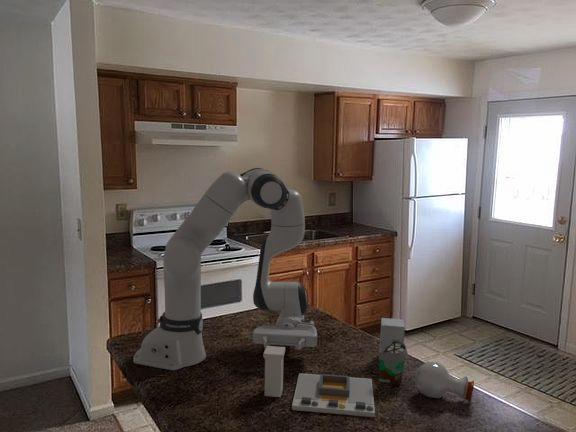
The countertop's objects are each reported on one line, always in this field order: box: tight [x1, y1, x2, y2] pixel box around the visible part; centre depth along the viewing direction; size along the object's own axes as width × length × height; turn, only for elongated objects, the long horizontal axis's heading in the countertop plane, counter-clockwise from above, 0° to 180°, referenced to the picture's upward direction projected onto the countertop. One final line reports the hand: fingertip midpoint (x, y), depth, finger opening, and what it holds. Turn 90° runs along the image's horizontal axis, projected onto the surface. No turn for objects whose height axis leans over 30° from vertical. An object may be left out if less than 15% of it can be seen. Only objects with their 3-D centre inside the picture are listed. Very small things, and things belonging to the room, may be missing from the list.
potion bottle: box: [414, 361, 475, 404], centre depth 127 cm, size 9×10×15 cm
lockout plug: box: [262, 345, 286, 398], centre depth 128 cm, size 5×5×12 cm
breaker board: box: [291, 372, 376, 418], centre depth 127 cm, size 21×18×3 cm
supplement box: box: [378, 317, 406, 355], centre depth 150 cm, size 7×7×13 cm
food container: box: [378, 339, 408, 386], centre depth 137 cm, size 12×6×10 cm, turn 148°
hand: (282, 346), depth 140 cm, fingers open, 8 cm apart
